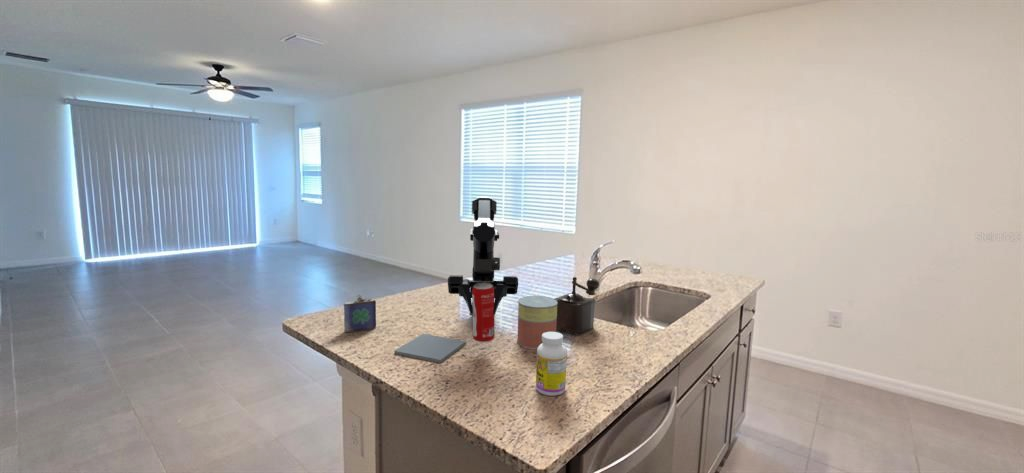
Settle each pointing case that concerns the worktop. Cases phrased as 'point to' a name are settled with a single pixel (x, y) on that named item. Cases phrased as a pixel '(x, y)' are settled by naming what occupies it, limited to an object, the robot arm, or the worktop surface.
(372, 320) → the flask
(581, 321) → the pepper mill
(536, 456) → the worktop surface
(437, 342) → the rubber mat
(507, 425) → the worktop surface
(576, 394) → the worktop surface
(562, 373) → the supplement bottle
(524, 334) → the canned food
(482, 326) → the beverage can
